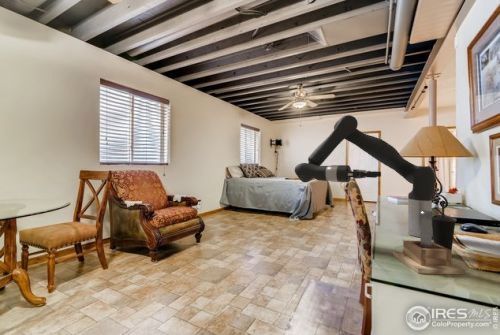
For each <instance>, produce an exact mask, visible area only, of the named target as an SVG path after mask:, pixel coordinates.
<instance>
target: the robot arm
mask: <svg viewBox="0 0 500 335" xmlns="http://www.w3.org/2000/svg"><path fill="white" fill-rule="evenodd" d="M358 126H359V124H358V119H357V118H356V116H353V115H348V114H347V115H344V116H342V117H340V118H339V119H338V120H337V121H336V122H335V123H334V125H333V130H332V132H331V133H330V134H329V135H328V137H326V138H325V140H323V141H322V142H321V143H320V144H318V146H317V147H316V148H315V149H314V150H313V151H312V152H311V153H310V155H309V156H308V158H307V162H301V163H299V164H297V165H296V166H295V167H294V173H295V175H296V176H297V178H298V179H299V180H300V181H301V182H302V183H309V182H311V181H312V180H313V179H315V180H317V181H321V182H332V183H350V181H351V180H352V179H354V180H356V179H357V180H358V179H359V180H360V179H366V178H375V179H377V178H379V177H382V172H381V171H377V170H376V171H371V170H366V169H359V168H358V169H352V168H351V166H350V165H348V164H343V165H342V164H335V165H334V164H332V165H322V164H324V162H325V161H326V160H327V159H328V158H329V157H330V155H331V154H332V153H333V152H334V150H335V149H336V148H337V147H338V146H339V145H340V144H341V143H342V142H343V141H344V140H346V141H348V142H349V143H352V144H353V145H355V146H356V147H357V148H359V149H360V150H362V151H363V152H365V153H367V154H368V155H369V156H371V157H372V158H374V159H376V161H377V162H378V161H379V162H380V163H382V164H383V165H385V166H386V167H388V168H390V169H392V170H393V171H395V172H396V173H398V175H400V177H402V178H403V179H404V180H405V181H406V182H408V183H409V184H412V190H411V191H410V192H408V194H407V201H408V202H407V234H408V235H409V236H412V237H417V238H421V221H420V210H425V211H432V212H433V196H434V194H435V186H436V185H435V184H436V176H435V172H434V170H433V169H432V168H431V167H429V166H425V165H415V164H413V163H411V162H410V161H408V159H406V158H404V157H403V156H402V155H401V154H400V153H399V151H398V150H397V149H396V148H395V147H394V146H393V145H392V144H390V143H388V142H387V141H385V140H383V139H382V138H378V137H377V136H373V135H370V134H366V133H364V132H362V131H360V130H359V129H358ZM432 238H433V231H432Z"/></svg>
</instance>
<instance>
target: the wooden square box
mask: <svg viewBox="0 0 500 335" xmlns="http://www.w3.org/2000/svg"><path fill="white" fill-rule="evenodd" d="M402 244H403V248H402V250H403V251H393V252H392V256H393V257H394V258H396V259H397V260H398V261H400V262H402V263H403V264H404V265H406V266H407V267H408V266H409V268H410V269H411V270H412V271H414V272H416V273H417V274H430V275H431V274H435V275H437V274H439V275H465V274H466V269H465V268H463V267H461V266H459V265H457V264H456V263H453V262H452V252H451V250H449V249H447V248H445V247H443V246H440V245H438V244H436V243H434V241H432V249H426V248H421V247H420V240H403V242H402Z"/></svg>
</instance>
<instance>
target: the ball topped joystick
mask: <svg viewBox="0 0 500 335" xmlns="http://www.w3.org/2000/svg"><path fill="white" fill-rule="evenodd" d="M432 216H433V210H432V211H425V210H420V221H421V237H419V238H420V240H419V241H420V247H421V248H426V249H432V242H433V237H432Z"/></svg>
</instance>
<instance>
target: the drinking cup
mask: <svg viewBox="0 0 500 335" xmlns="http://www.w3.org/2000/svg"><path fill="white" fill-rule="evenodd" d="M456 222H457V218H455V217H452V216H450V215H447V214H445V201H444V200H443V201H441V214H435V215H432V231H433V237H432V242H434V243H436V244H438V245H440V246H443V247H445V248H447V249H449V250H451V253H453V252H452V251H453V242H454V234H455V226H456Z"/></svg>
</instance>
